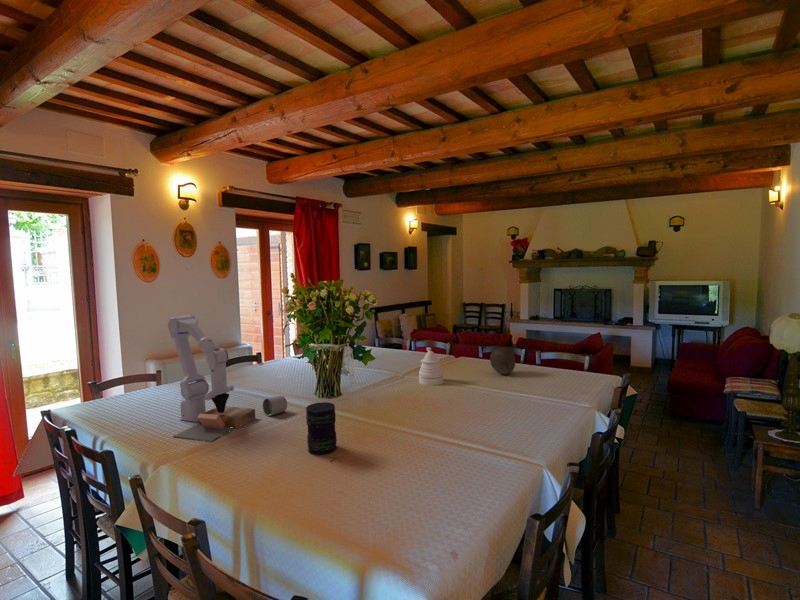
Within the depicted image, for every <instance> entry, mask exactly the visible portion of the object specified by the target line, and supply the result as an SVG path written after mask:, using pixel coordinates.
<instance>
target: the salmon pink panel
mask: <svg viewBox="0 0 800 600" xmlns="http://www.w3.org/2000/svg"><path fill="white" fill-rule="evenodd" d="M197 418H198V420H199V421H200V422H201V424H202V425H203V426H204V427H208V428H218V429H223V428H224V426H225V423H224V422H223V421H222V419H221V418H220V416H219V415H212V414H202V413H200V414H199V415H198V417H197ZM199 421H198V422H199Z"/></svg>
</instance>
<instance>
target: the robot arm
mask: <svg viewBox="0 0 800 600" xmlns="http://www.w3.org/2000/svg"><path fill="white" fill-rule="evenodd" d="M167 328H168V331H169V335H170V338H171V339H173V342H174V345H175V349H176V352H177V356H178V358H179V363H180V366H181V369H182V371H183V377H184V378H182V380H181V381H180V383H179V385H180V386H179V387H180V394H181V397H182V400H181V401H180V405H179V407H180V416H181V417H180V419H179V420H180V421H186V422H187V421H188V422H195V423H196V422H197V423H198V422H199V420H198V418H197V417H198V415H199V414H200V413H205V412H207V409H206V401H210V400H211V401H212V402H213V405H214V406H215V408H217V411H218V413H223V412H224V410H225V406H227V401H228V399H229V397H230V393H229V392H231V391H234V390H235V387H234V385H231V384H230V385H228V378H227V364H226V363H227V362H228V360H229V352H228V351H227V349H226V348H222V347H220V346H218V344H217V343H216V342H215V341H214V340H213V339H212V338H211V337H209V336H208V337H207V336H206V335H205V333H204V332H203V330H202V329H201V328H200V326H199V322H198V319H197V318H196V316H195V315H194V314H188V315H183V316H181V315H179V316H171V317H170V318H169V320H168V324H167ZM189 336H190V337H191V336H192V338H194V340H195V341H197V342H198V345H197V346H198V348H199V349H200V350H201V352H202V353H203V354H204V355H205V356H206V362H207V364H208V368H209V370H210V382H211V391H209V390H210V386H209V382H207V379H206V378H205V375H203V374H200V373H199V371H198V369H197V366H196V362H195V359H194V356H193V353H192V349H191V346H190V342H189Z"/></svg>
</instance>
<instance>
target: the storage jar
mask: <svg viewBox="0 0 800 600" xmlns="http://www.w3.org/2000/svg"><path fill="white" fill-rule="evenodd" d="M335 406H336V405H335V404H334V403H332V402H324V401H323V402H316V403H315V402H314V403H312V404H309V405H307V406H306V407H305V408H306V409H305V412H306V414H305V418H306V425H307V437H306V439H307V442H306V443H307V447H308V449H307V452H308V453H309V454H310V455H312V456H325V455H326V456H327V455H329V454H332V453H335V452H336V450H337V431H336V407H335Z"/></svg>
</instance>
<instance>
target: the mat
mask: <svg viewBox="0 0 800 600" xmlns="http://www.w3.org/2000/svg"><path fill="white" fill-rule="evenodd" d="M233 429H235V430H236V428H230V427H224V428H223V429H218V428H208V427H204V426H203V425H202V424H200V423H198V424H196V425H194V426H191V427H189V428H187V429H185V430H182V431H181V432H179V433H177V434H174V435H172V438H175V437H176V438H177V439H183V438H184V440H191V439H196V440H195V441H200V440H205V441H204V442H208V441H212V442H214V441H216V440H217V439H216V438H218V437H220V436H222V435H223V436H225V435H226V433H227V434H229V433H230V432H229V431H231V430H233ZM233 431H234V430H233ZM228 432H229V433H228ZM231 432H232V431H231ZM224 434H225V435H224ZM223 436H222V437H223ZM220 438H221V437H220ZM215 439H216V440H215ZM218 439H219V438H218ZM213 440H214V441H213Z"/></svg>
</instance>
